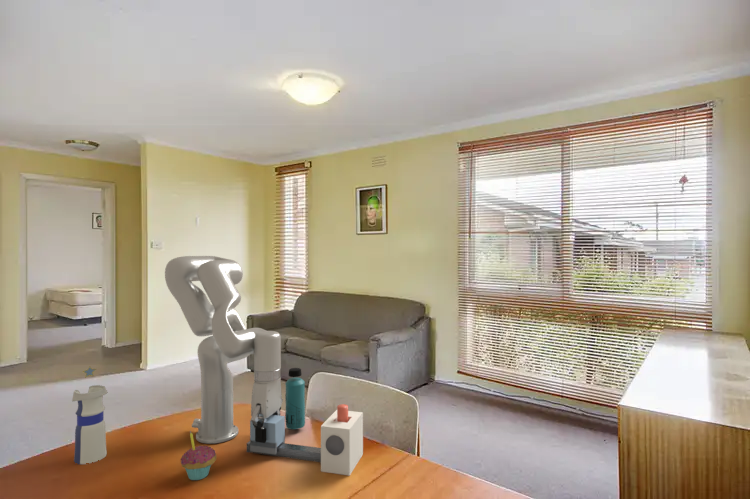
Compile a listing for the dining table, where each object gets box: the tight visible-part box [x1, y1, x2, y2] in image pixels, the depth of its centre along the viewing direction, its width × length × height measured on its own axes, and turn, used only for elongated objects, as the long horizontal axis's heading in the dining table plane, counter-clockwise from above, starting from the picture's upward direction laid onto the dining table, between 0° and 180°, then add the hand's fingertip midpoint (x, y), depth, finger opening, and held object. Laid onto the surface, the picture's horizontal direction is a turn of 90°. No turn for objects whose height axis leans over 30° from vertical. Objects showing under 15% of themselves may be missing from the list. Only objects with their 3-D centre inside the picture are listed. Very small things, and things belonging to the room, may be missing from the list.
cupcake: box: [180, 430, 217, 481], centre depth 111 cm, size 9×8×12 cm
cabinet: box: [320, 409, 364, 476], centre depth 118 cm, size 8×12×12 cm, turn 165°
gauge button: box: [336, 403, 349, 422], centre depth 118 cm, size 3×3×7 cm
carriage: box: [249, 414, 286, 455], centre depth 124 cm, size 8×6×9 cm
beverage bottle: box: [284, 367, 306, 430], centre depth 139 cm, size 6×7×20 cm
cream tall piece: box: [71, 366, 108, 465], centre depth 121 cm, size 8×8×25 cm
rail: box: [245, 440, 321, 463], centre depth 122 cm, size 25×3×2 cm, turn 75°
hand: (267, 435), depth 124 cm, fingers open, 7 cm apart
